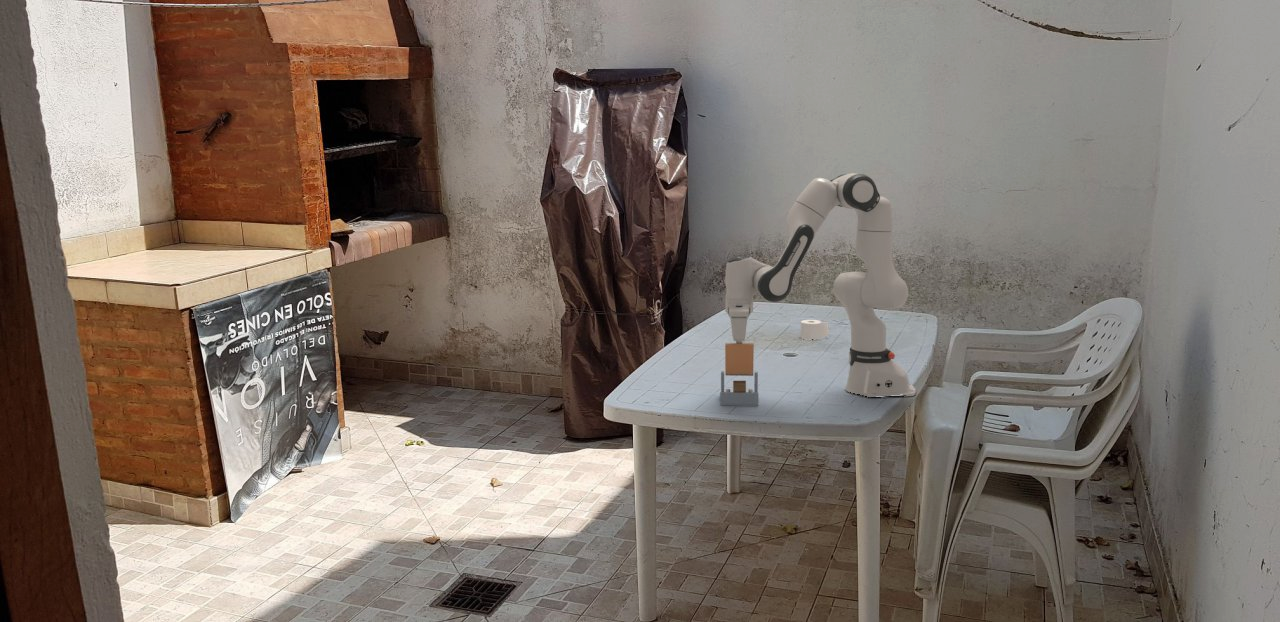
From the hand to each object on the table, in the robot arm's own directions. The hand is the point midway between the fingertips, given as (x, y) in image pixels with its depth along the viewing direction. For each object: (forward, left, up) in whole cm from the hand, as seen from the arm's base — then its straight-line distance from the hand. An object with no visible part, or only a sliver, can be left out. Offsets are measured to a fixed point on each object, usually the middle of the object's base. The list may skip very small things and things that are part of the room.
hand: (739, 348), depth 315 cm
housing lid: (0, +1, -4) cm, 4 cm away
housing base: (0, +4, -16) cm, 17 cm away
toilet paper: (-31, -87, -16) cm, 93 cm away
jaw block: (0, +6, -15) cm, 16 cm away
